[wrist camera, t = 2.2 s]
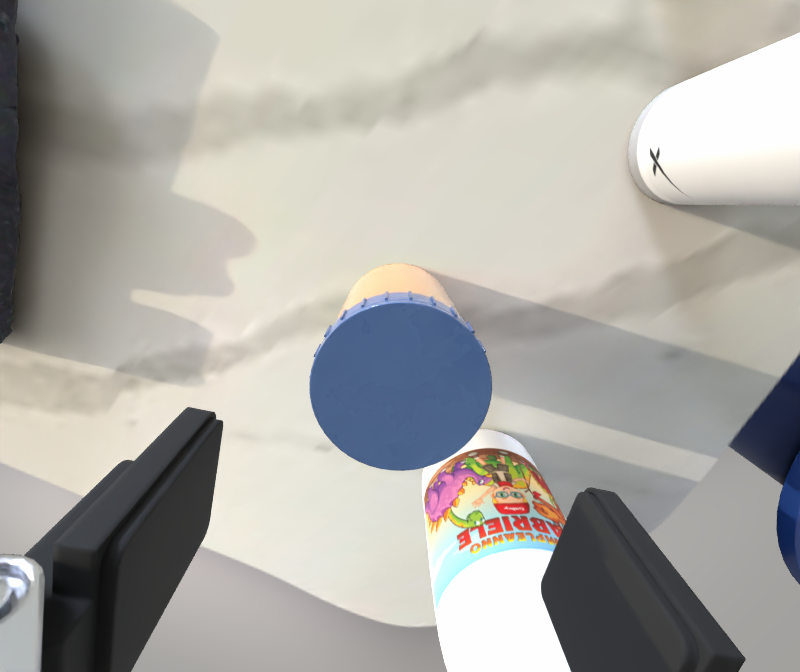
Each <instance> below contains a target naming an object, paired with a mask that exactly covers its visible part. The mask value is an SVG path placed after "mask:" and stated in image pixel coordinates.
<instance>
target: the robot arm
mask: <svg viewBox="0 0 800 672" xmlns="http://www.w3.org/2000/svg"><path fill="white" fill-rule="evenodd" d="M222 430H223V421H221V420H216V414H215V412H211V411H206V410H201V409H196V408H191V407H187V408H186V409H185V410H184V411H183V412H182V413H181V414H180V415H179V416H178V417H177V418H176V419H175V420H174V421H173V422H172V423H171V424H170V425H169V426H168V427H167V428H166V429H165V430H164V431H163V432H162V433H161V434H160V435H159V436H158V437H157V438H156V439H155V440H154V441H153V442H152V443H151V444H150V446H149V447H148V448H147V449H146V450H145V451H144V452H143V453H142V454H141V455H140V456H139V457H138V458H137V459H136V460H135V461H131V460H125V461H122V462H121V463H119V464H118V465H117V466H116V467H115V468H114V469H113V470H112V471H111V472H110V473H109V474H108V475H107V476H106V477H104V478H103V479H102V480H101V481H100V482H99V483H98V484H97V485H96V486H95V487H94V488H93V489H92V490H91V491H90V492H89V493H88V494H87V495H86V496H85V497H84V498H83V499H82V500H81V501H80V502H79V503H78V504H77V505H76V506H75V507H74V508H73V509H72V510H70V511H69V512H68V513H67V514H66V515H65V516H64V517H63V518H62V519H61V520H60V521H59V522H58V523H57V524H56V525H55V526H54V527H53V528H52V529H51V530H50V531H49V532H48V533H47V534H46V535H45V536H44V537H43V538H42V539H41V540H40V541H39V542H38V543H36V544H35V545H34V547H32V548H31V549H30V551H28V552H27V553H26V554H25V555H24V556H22V555H15V554H0V672H131V670H132V669H133V667H134V665H135V663H136V661H137V660H138V658H139V656H140V654H141V652H142V650H143V649H144V647H145V645H146V643H147V641H148V639H149V637H150V636H151V634H152V632H153V630H154V628H155V627H156V625H157V623H158V621H159V619H160V618H161V616H162V614H163V612H164V610H165V608H166V607H167V605H168V603H169V601H170V599H171V597H172V595H173V593H174V592H175V590H176V588H177V586H178V584H179V583H180V581H181V579H182V577H183V576H184V574H185V572H186V570H187V568H188V566H189V565H190V563H191V561H192V559H193V557H194V556H195V553H196V552H197V550H198V548H199V546H200V545H201V543H202V541H203V539H204V537H205V535H206V532H207V529H208V526H209V522H210V515H211V508H212V501H213V494H214V487H215V480H216V473H217V466H218V459H219V452H220V445H221V438H222ZM541 596H542V599H543V602H544V604H545V607H546V609H547V612H548V614H549V617H550V620H551V622H552V625H553V627H554V630H555V632H556V635H557V638H558V640H559V643H560V645H561V648H562V650H563V653H564V655H565V658H566V661H567V663H568V666H569V668H570V671H571V672H738V671H739V670H740V668H741V666H742V665H743V663H744V661H745V657H744V656H743V655H742V654H741V652H740V651H739V650H738V648H737V647H736V646H735V645H734V643H733V642H732V641H731V640H730V638H729V637H728V636H727V634H726V633H725V632H724V631H723V629H722V628H721V627H720V625H719V624H718V623H717V622H716V620H715V619H714V618H713V617H712V615H711V614H710V613H709V612H708V610H707V609H706V608H705V606H704V605H703V604H702V602H701V601H700V600H699V599H698V597H697V596H696V595H695V594H694V592H693V591H692V590H691V589H690V587H689V586H688V585H687V583H686V582H685V581H684V579H683V578H682V577H681V576H680V574H679V573H678V572H677V571H676V569H675V568H674V567H673V566H672V564H671V563H670V562H669V560H668V559H667V558H666V556H665V555H664V554H663V553H662V551H661V550H660V549H659V548H658V546H657V545H656V544H655V542H654V541H653V540H652V539H651V537H650V536H649V535H648V533H647V532H646V531H645V530H644V528H643V527H642V526H641V525H640V523H639V522H638V521H637V519H636V518H635V517H634V516H633V514H632V513H631V512H630V510H629V509H628V508H627V507H626V505H625V504H624V503H623V502H622V500H621V499H620V498H619V496H618V495H617V494H616V493H614V492H611V491H606V490H601V489H596V488H591V487H590V488H587V489H586V490H585V491H584V492H581V493H579V494H578V495H577V497H576V499H575V501H574V504H573V506H572V508H571V511H570V513H569V516H568V518H567V520H566V523H565V525H564V527H563V530H562V532H561V535H560V537H559V539H558V542H557V544H556V547H555V549H554V551H553V554H552V556H551V558H550V561H549V563H548V566H547V568H546V570H545V573H544V575H543V578H542V581H541Z"/></svg>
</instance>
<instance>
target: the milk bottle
mask: <svg viewBox="0 0 800 672" xmlns="http://www.w3.org/2000/svg"><path fill="white" fill-rule="evenodd" d="M422 493H423V504H424V514H425V524H426V534H427V544H428V554H429V563H430V572H431V581H432V590H433V599H434V607H435V614H436V621H437V627H438V634H439V640H440V644H441V649H442V653H443V657H444V661H445V664H446V668H447V670H448V672H571V671H570V668H569V666H568V663H567V661H566V658H565V655H564V653H563V650H562V648H561V645H560V643H559V640H558V638H557V635H556V632H555V630H554V627H553V625H552V622H551V620H550V617H549V614H548V612H547V609H546V607H545V604H544V602H543V599H542V596H541V581H542V578H543V575H544V573H545V570H546V568H547V566H548V563H549V561H550V558H551V556H552V554H553V551H554V549H555V547H556V544H557V542H558V539H559V537H560V535H561V532H562V530H563V527H564V525H565V523H566V520H565V518H564V516H563V514H562V512H561V511H560V509H559V507H558V505H557V503H556V501H555V500H554V498H553V496H552V494H551V492H550V490H549V488H548V487H547V485H546V483H545V481H544V479H543V477H542V476H541V474H540V472H539V470H538V468H537V466H536V465H535V463H534V461H533V460H532V458H531V456H530V455H529V453H528V452H527V450H526V449H525V448H524V447H523V446H522V445H521V444H520V443H519V442H518V441H517V440H515V439H514V438H512V437H510V436H508V435H506V434H504V433H501V432H498V431H493V430H489V429H479V430H478V431H477V433H476V434H475V435H474V437H473V438H472V439H471V440H470V441H469V442H468V443H467V444H466V445H465V446H464V447H463V448H462V449H460V450H459V451H458V452H457V453H455V454H454V455H452V456H450V457H449V458H447V459H445V460H443V461H441V462H439V463H437V464H434V465H431V466H428V467H425V468H424V470H423V475H422Z"/></svg>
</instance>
